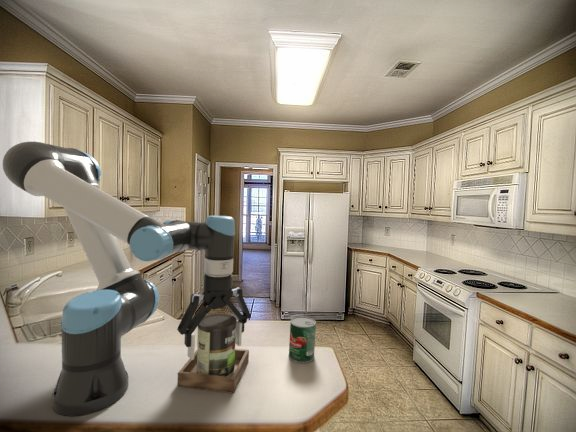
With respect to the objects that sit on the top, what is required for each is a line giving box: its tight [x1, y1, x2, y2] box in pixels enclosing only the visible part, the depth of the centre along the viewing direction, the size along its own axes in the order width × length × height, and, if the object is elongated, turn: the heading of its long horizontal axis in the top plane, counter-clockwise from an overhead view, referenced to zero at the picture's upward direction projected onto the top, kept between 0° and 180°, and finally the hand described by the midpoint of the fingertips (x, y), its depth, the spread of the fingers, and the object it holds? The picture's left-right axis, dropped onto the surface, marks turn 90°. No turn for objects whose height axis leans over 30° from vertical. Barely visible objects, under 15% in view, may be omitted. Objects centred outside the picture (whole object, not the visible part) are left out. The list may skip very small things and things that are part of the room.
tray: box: [177, 348, 250, 394], centre depth 82 cm, size 15×15×4 cm
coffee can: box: [196, 313, 238, 377], centre depth 82 cm, size 10×10×14 cm
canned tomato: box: [288, 316, 317, 364], centre depth 92 cm, size 8×8×11 cm
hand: (215, 350), depth 82 cm, fingers open, 13 cm apart
